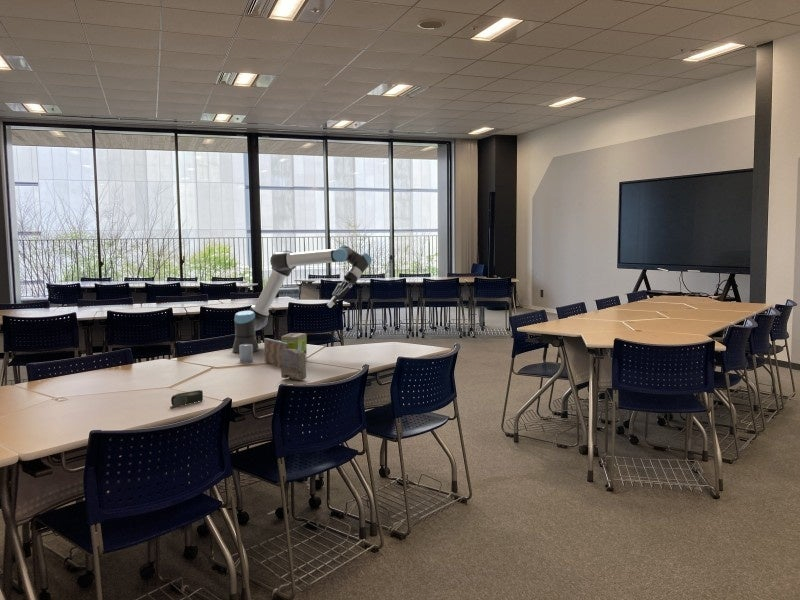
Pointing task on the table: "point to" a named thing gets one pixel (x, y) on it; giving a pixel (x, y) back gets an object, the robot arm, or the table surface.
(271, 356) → the board
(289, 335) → the tea box
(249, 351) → the grey capsule cylinder
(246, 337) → the robot arm
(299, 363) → the geological specimen
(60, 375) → the table surface
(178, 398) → the dark grey elongated bar
